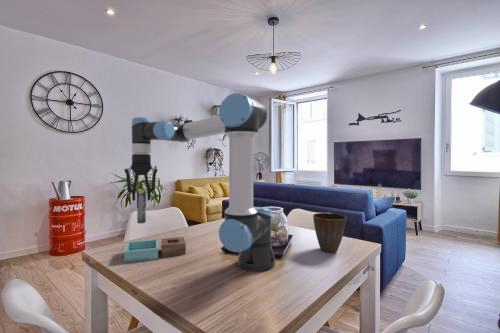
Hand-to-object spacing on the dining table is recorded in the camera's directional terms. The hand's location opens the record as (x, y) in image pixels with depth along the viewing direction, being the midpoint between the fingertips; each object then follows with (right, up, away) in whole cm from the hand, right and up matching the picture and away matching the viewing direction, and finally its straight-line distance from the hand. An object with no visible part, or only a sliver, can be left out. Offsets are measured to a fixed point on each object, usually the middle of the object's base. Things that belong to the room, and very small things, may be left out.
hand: (141, 207), depth 113 cm
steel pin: (0, -7, 0) cm, 7 cm away
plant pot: (+84, -21, +8) cm, 87 cm away
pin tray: (0, -21, +1) cm, 21 cm away
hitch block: (+12, -21, +5) cm, 25 cm away
